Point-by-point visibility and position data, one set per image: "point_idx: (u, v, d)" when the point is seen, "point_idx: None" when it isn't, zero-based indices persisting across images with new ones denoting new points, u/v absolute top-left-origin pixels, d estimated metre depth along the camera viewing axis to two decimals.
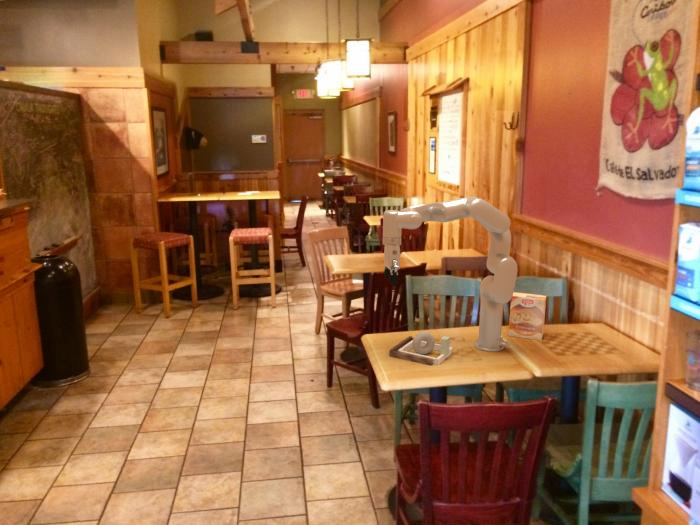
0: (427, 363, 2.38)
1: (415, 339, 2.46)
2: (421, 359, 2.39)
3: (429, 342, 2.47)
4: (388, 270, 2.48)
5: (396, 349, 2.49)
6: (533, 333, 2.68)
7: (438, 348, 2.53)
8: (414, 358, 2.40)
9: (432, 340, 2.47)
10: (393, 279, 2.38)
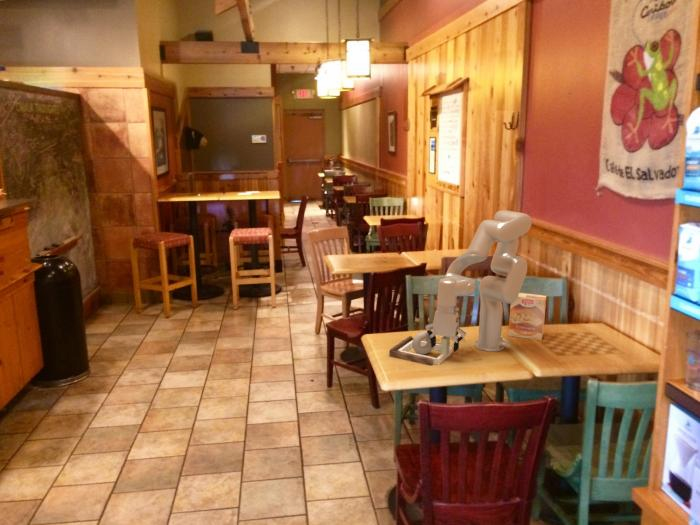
0: (427, 363, 2.38)
1: (415, 339, 2.46)
2: (421, 359, 2.39)
3: (429, 342, 2.48)
4: (434, 338, 2.45)
5: (396, 349, 2.49)
6: (533, 333, 2.68)
7: (438, 348, 2.53)
8: (414, 358, 2.40)
9: None
10: (457, 346, 2.40)
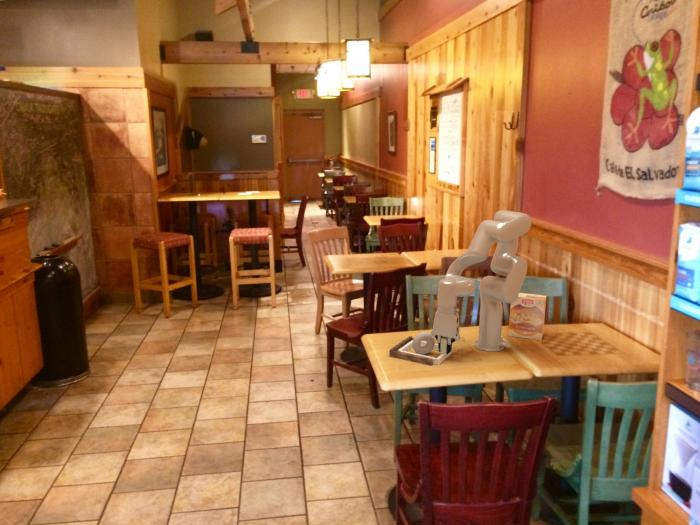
0: (427, 363, 2.38)
1: (415, 339, 2.46)
2: (421, 359, 2.39)
3: (429, 342, 2.47)
4: None
5: (396, 349, 2.49)
6: (533, 333, 2.68)
7: None
8: (414, 358, 2.40)
9: (432, 340, 2.47)
10: (450, 348, 2.42)
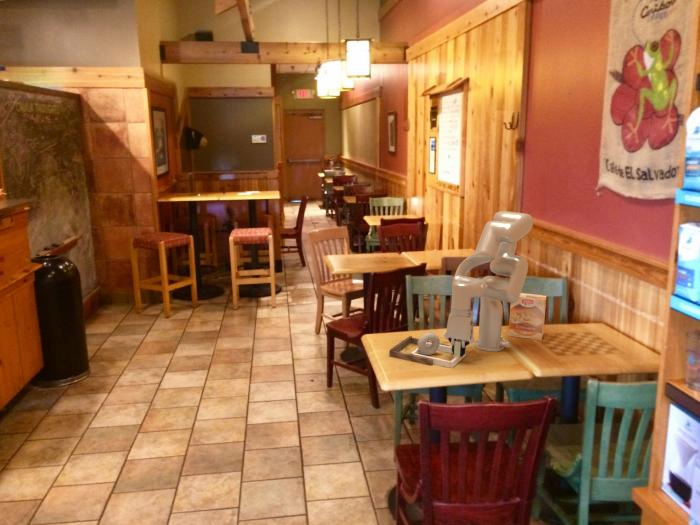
0: (427, 363, 2.38)
1: (421, 340, 2.45)
2: (421, 359, 2.39)
3: (434, 343, 2.47)
4: None
5: (396, 349, 2.49)
6: (533, 333, 2.68)
7: (451, 351, 2.50)
8: (414, 358, 2.40)
9: (437, 340, 2.47)
10: (464, 351, 2.39)
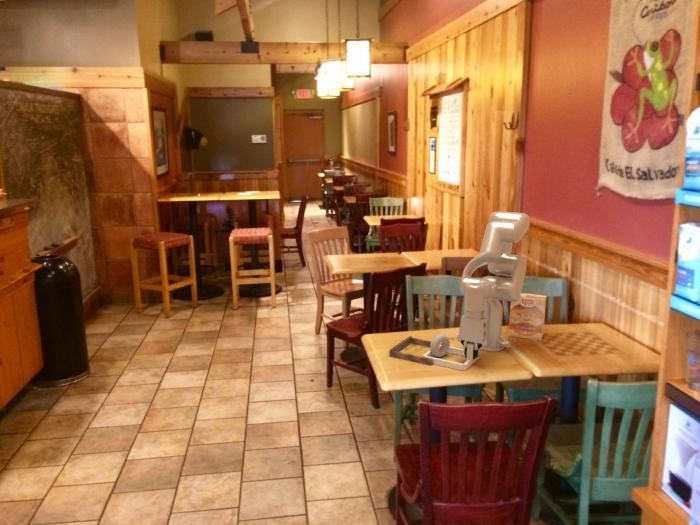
0: (427, 363, 2.38)
1: (434, 342, 2.42)
2: (421, 359, 2.39)
3: (445, 344, 2.46)
4: None
5: (396, 349, 2.49)
6: (533, 333, 2.68)
7: (463, 353, 2.47)
8: (414, 358, 2.40)
9: (448, 341, 2.46)
10: (477, 353, 2.36)
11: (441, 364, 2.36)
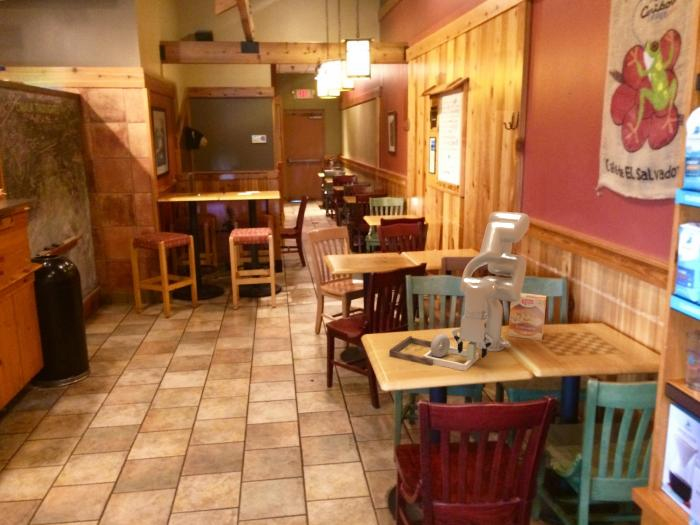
0: (427, 363, 2.38)
1: (435, 343, 2.42)
2: (421, 359, 2.39)
3: (446, 344, 2.46)
4: (461, 344, 2.39)
5: (396, 349, 2.49)
6: (533, 333, 2.68)
7: (464, 353, 2.47)
8: (414, 358, 2.40)
9: (448, 341, 2.46)
10: (485, 352, 2.34)
11: (442, 364, 2.36)
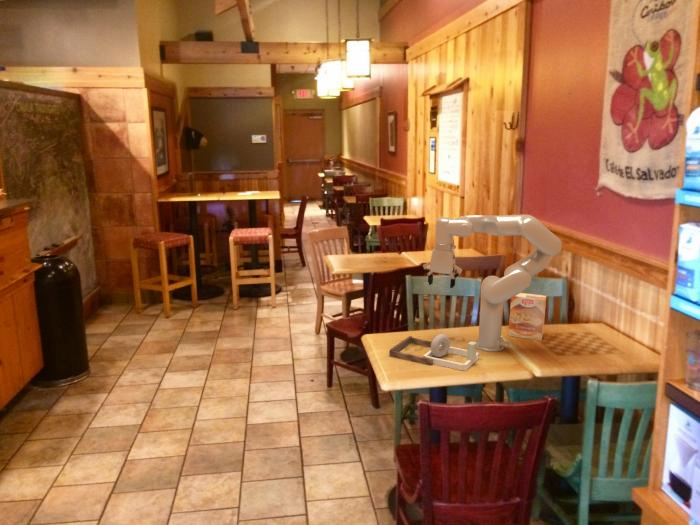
0: (427, 363, 2.38)
1: (435, 343, 2.42)
2: (421, 359, 2.39)
3: (446, 344, 2.46)
4: (431, 276, 2.56)
5: (396, 349, 2.49)
6: (533, 333, 2.68)
7: (464, 353, 2.47)
8: (414, 358, 2.40)
9: (448, 341, 2.46)
10: (454, 282, 2.51)
11: (442, 364, 2.36)
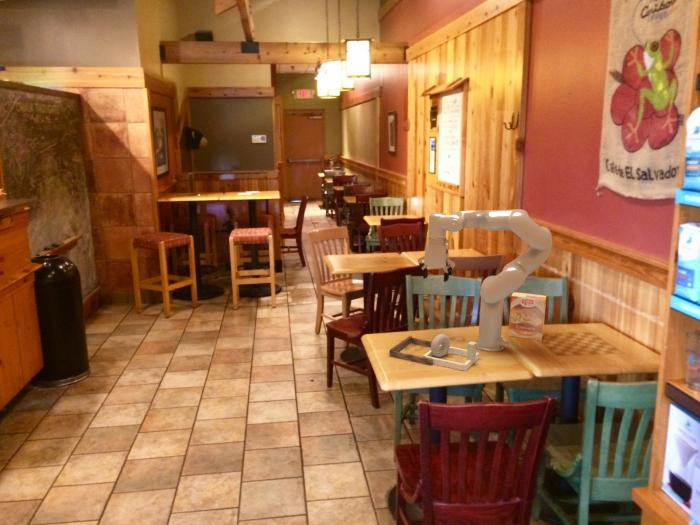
0: (427, 363, 2.38)
1: (435, 343, 2.42)
2: (421, 359, 2.39)
3: (446, 344, 2.46)
4: (426, 270, 2.61)
5: (396, 349, 2.49)
6: (533, 333, 2.68)
7: (464, 353, 2.47)
8: (414, 358, 2.40)
9: (448, 341, 2.46)
10: (447, 276, 2.55)
11: (442, 364, 2.36)
